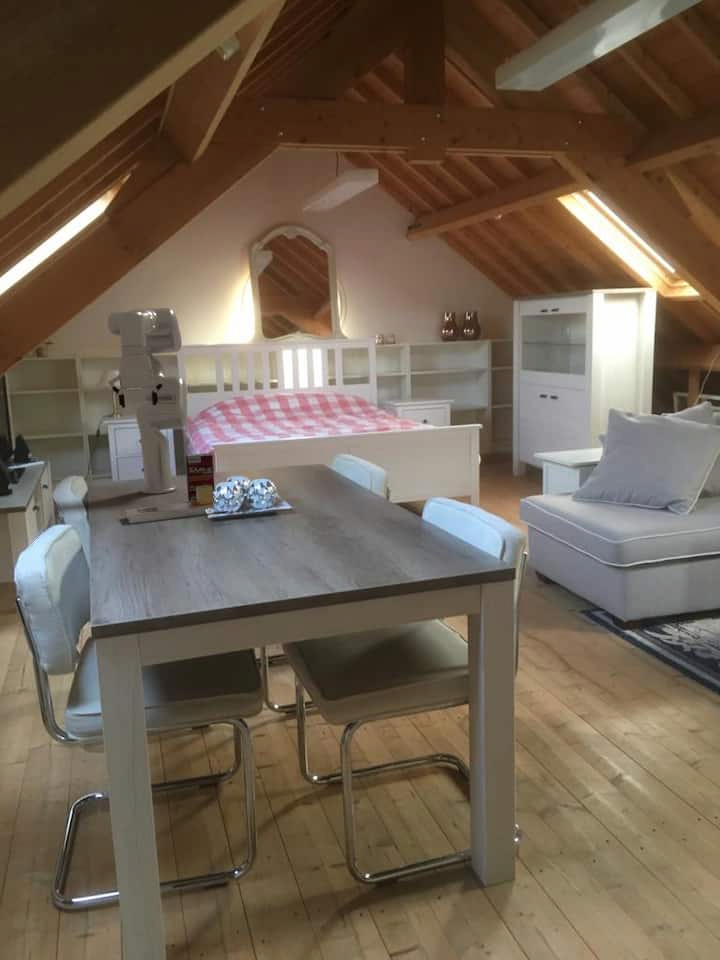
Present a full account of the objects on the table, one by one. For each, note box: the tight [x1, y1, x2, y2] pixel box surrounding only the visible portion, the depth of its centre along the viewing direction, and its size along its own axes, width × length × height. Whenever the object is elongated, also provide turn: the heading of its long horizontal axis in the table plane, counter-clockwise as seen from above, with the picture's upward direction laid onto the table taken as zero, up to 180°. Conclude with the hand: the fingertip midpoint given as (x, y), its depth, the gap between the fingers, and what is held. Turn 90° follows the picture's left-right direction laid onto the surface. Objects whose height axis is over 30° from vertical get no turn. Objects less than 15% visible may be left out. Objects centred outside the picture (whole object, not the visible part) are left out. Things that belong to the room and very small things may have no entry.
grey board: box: [125, 501, 214, 524], centre depth 253 cm, size 9×30×3 cm, turn 113°
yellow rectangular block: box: [196, 485, 214, 506], centre depth 256 cm, size 4×4×8 cm
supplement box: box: [185, 452, 216, 502], centre depth 270 cm, size 9×5×16 cm, turn 108°
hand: (139, 406), depth 257 cm, fingers open, 9 cm apart
